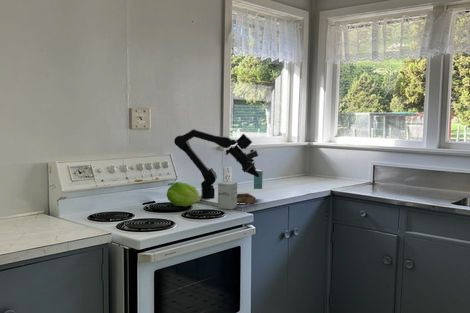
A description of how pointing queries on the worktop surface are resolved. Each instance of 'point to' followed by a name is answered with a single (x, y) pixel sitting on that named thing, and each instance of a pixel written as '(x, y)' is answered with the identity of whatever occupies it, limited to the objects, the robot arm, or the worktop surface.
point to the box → (245, 198)
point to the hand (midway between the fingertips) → (258, 175)
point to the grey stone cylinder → (227, 195)
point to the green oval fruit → (183, 194)
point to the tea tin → (258, 180)
